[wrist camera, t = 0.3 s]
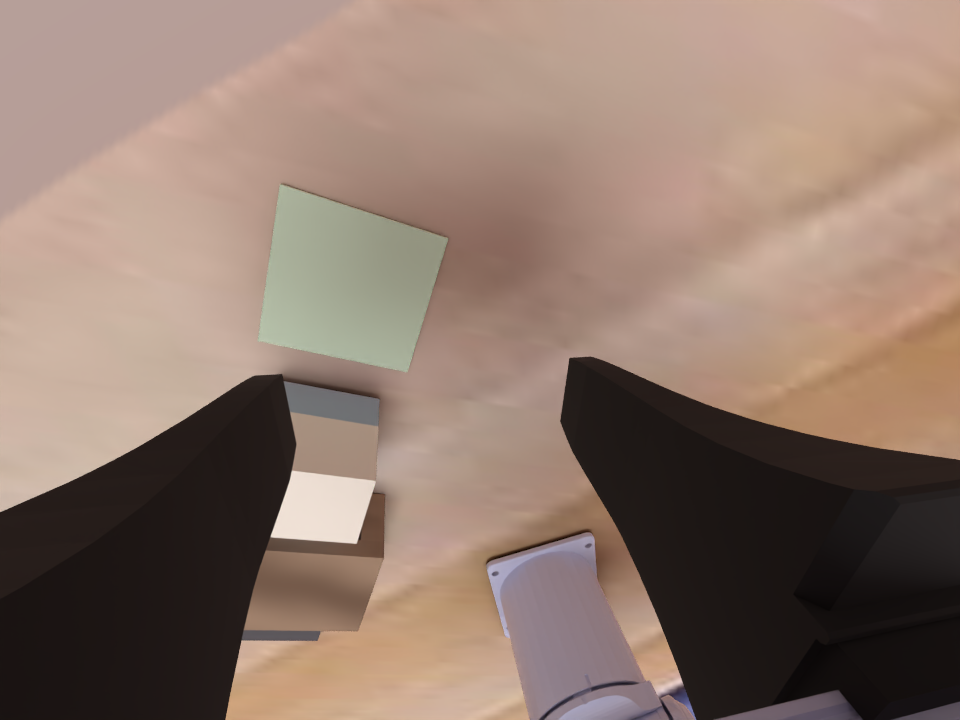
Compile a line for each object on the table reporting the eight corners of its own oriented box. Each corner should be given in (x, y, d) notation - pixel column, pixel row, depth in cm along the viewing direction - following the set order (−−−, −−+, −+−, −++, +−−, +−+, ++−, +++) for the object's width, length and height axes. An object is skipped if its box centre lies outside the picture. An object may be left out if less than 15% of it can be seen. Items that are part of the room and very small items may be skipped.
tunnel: (362, 562, 27) (358, 631, 23) (211, 553, 24) (177, 629, 20) (384, 494, 25) (383, 558, 21) (220, 475, 22) (184, 545, 18)
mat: (407, 370, 21) (407, 372, 21) (259, 338, 19) (257, 341, 19) (447, 237, 19) (448, 238, 18) (281, 183, 16) (280, 184, 16)
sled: (328, 576, 26) (313, 682, 21) (242, 572, 25) (203, 685, 20) (379, 398, 21) (376, 481, 16) (275, 379, 20) (233, 463, 14)
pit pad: (318, 636, 30) (317, 640, 29) (224, 636, 28) (223, 640, 28) (334, 581, 27) (334, 584, 27) (234, 576, 25) (232, 580, 25)
